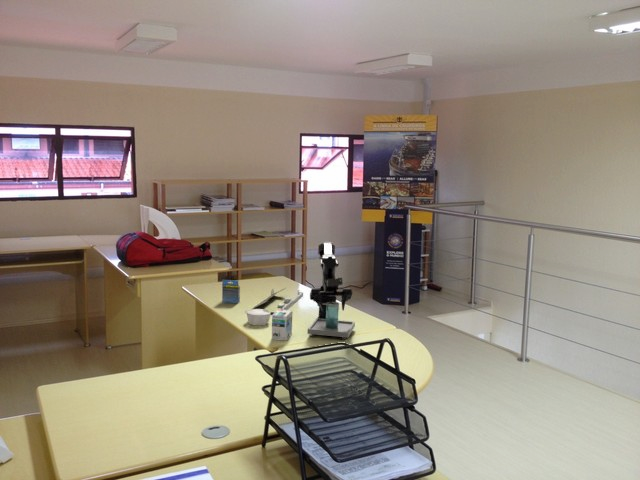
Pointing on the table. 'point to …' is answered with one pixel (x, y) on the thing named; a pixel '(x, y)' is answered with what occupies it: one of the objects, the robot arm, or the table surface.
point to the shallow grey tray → (341, 331)
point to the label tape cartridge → (230, 291)
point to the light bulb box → (281, 324)
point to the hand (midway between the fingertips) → (333, 310)
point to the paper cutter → (286, 300)
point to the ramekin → (258, 316)
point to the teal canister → (332, 315)
